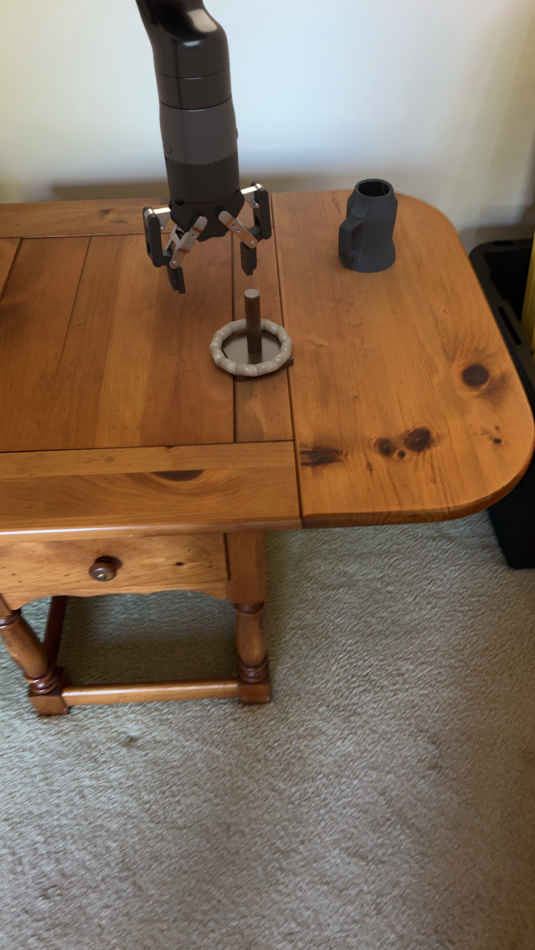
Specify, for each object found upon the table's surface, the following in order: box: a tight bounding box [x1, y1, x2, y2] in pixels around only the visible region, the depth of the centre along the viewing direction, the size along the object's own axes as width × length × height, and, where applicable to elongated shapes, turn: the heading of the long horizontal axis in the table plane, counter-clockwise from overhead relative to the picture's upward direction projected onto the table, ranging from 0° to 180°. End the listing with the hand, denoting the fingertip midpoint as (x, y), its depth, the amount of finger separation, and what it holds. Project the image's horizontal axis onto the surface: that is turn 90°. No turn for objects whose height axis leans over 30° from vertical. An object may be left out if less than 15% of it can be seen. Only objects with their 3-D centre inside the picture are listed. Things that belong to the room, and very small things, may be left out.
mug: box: [337, 177, 399, 274], centre depth 100 cm, size 12×9×11 cm
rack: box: [221, 288, 295, 383], centre depth 86 cm, size 8×8×10 cm
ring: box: [208, 317, 294, 377], centre depth 89 cm, size 11×11×2 cm
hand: (214, 281), depth 79 cm, fingers open, 8 cm apart
